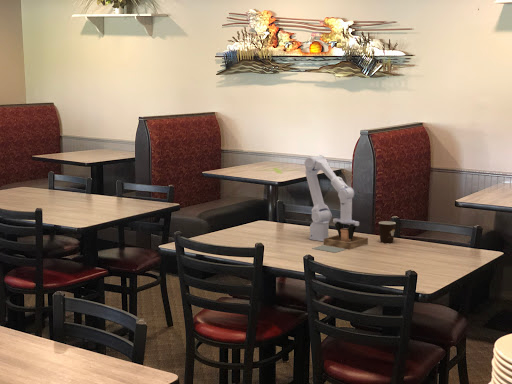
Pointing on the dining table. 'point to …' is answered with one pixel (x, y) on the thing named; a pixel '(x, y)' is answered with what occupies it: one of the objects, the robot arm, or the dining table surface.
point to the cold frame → (337, 242)
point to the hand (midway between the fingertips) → (345, 238)
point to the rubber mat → (329, 249)
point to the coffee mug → (387, 231)
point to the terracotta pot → (345, 235)
